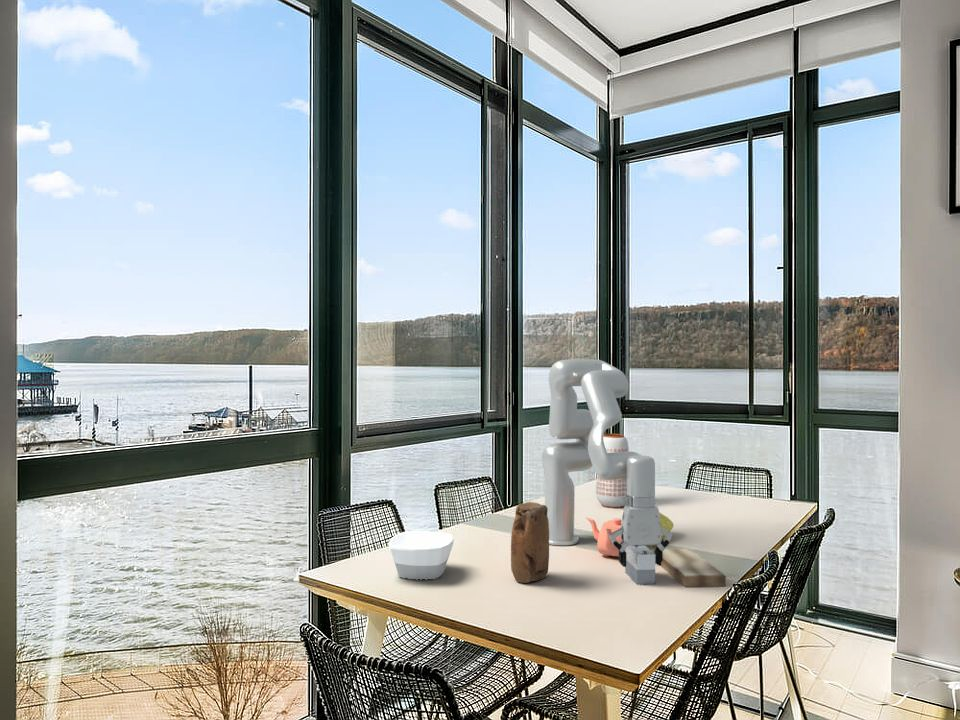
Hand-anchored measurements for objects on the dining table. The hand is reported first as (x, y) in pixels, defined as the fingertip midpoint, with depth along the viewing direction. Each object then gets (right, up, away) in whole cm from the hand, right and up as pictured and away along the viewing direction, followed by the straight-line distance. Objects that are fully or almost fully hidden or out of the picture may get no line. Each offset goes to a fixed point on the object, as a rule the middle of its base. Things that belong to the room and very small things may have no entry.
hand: (640, 564), depth 189 cm
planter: (+9, -3, +88) cm, 88 cm away
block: (-30, -4, -1) cm, 30 cm away
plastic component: (+12, -4, +39) cm, 41 cm away
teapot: (-3, -4, +22) cm, 23 cm away
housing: (0, -4, 0) cm, 4 cm away
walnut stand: (+14, -4, +6) cm, 16 cm away
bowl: (-60, -4, +3) cm, 60 cm away
